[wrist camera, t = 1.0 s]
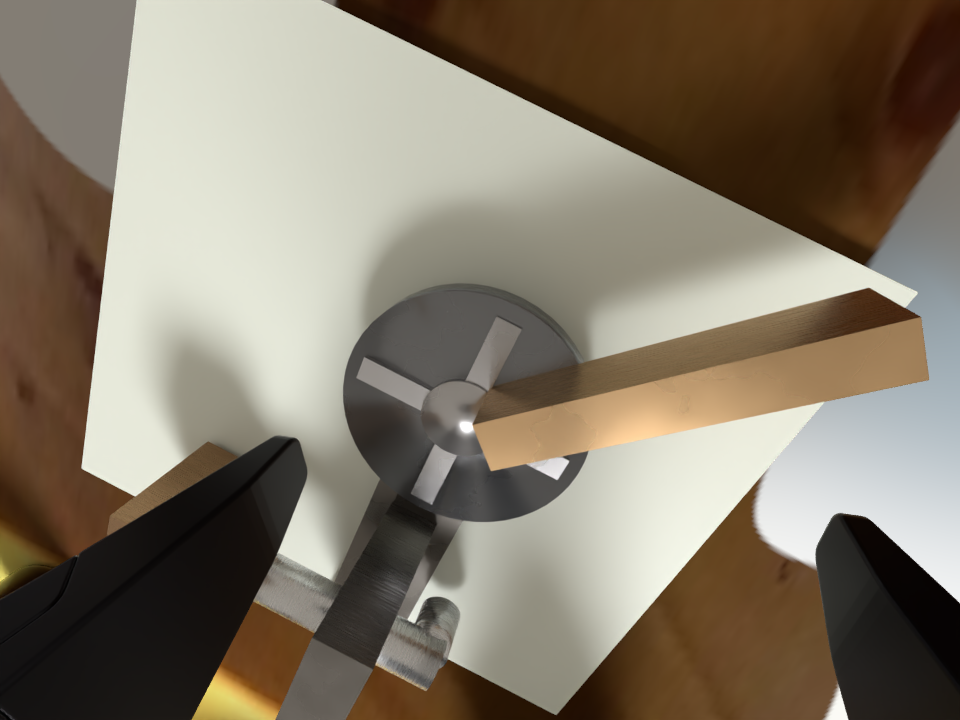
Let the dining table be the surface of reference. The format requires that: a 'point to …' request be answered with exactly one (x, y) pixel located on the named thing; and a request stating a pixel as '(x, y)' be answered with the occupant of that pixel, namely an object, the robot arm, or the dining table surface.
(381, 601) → the iron eye
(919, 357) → the handwheel
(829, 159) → the dining table surface
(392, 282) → the white board
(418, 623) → the wooden mallet
